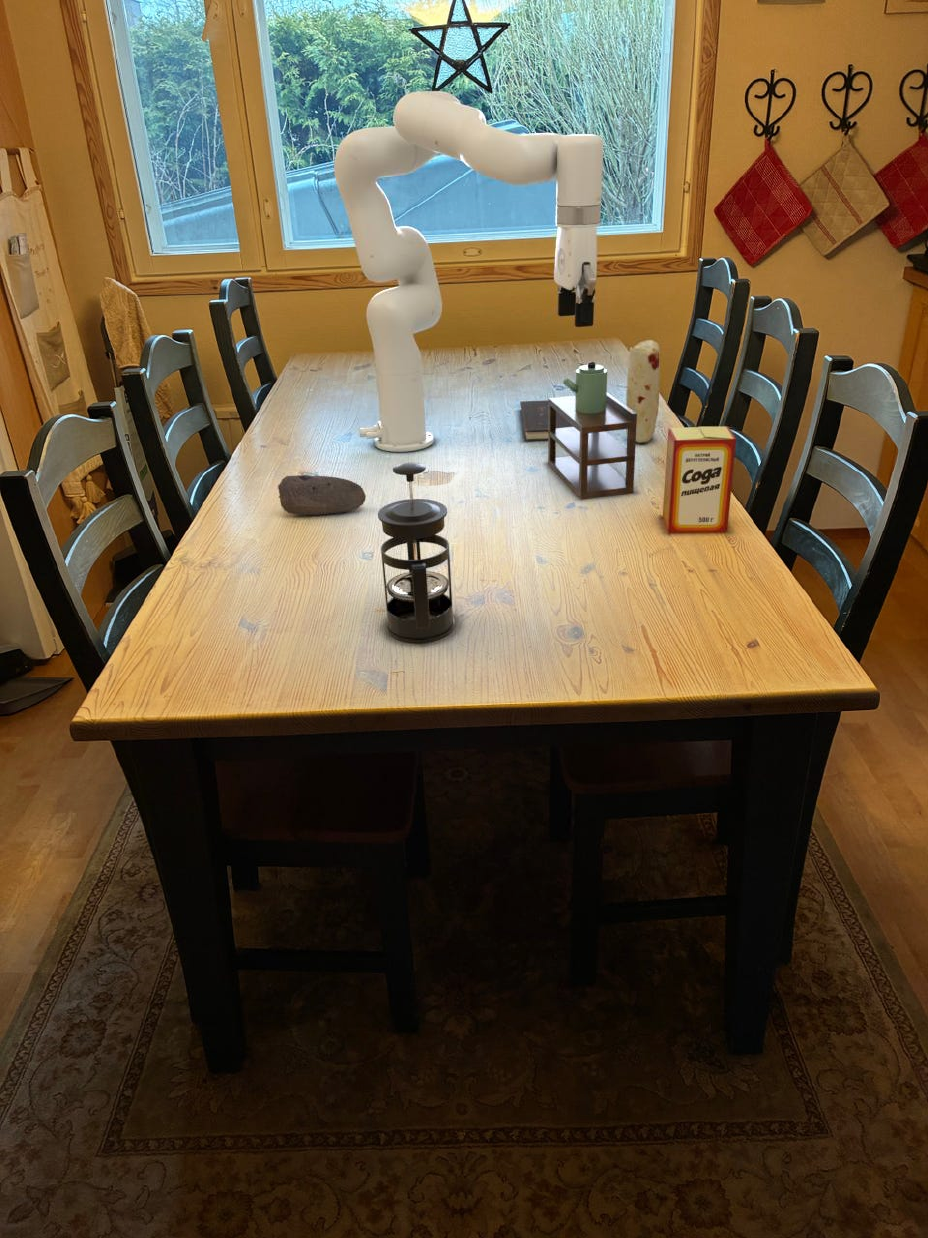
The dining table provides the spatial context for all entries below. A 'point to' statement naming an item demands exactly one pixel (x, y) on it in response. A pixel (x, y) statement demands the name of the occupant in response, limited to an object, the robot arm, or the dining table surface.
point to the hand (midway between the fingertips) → (575, 320)
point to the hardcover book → (538, 420)
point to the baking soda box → (698, 479)
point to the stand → (592, 447)
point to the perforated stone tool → (319, 495)
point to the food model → (644, 387)
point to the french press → (416, 567)
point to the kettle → (589, 388)
